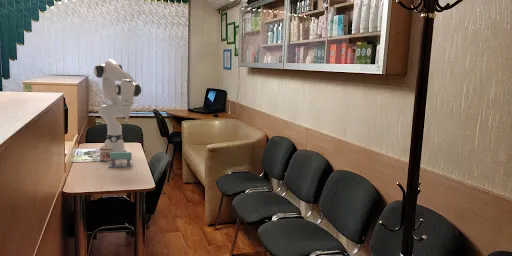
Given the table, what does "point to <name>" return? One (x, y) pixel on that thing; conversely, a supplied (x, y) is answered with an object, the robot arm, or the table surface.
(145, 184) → the table surface
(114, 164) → the display stand
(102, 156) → the teacup with lid
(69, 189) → the table surface
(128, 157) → the frame bar
